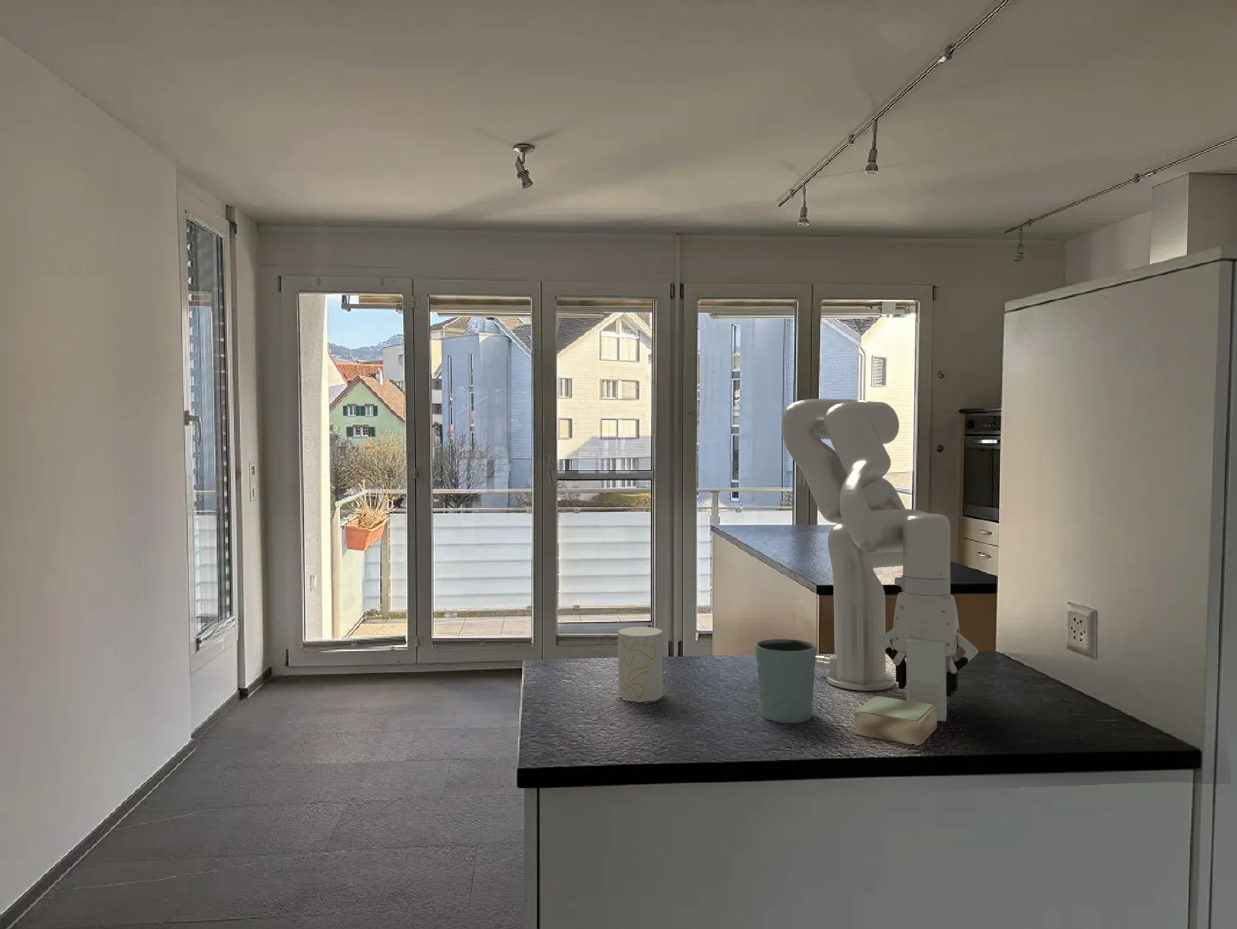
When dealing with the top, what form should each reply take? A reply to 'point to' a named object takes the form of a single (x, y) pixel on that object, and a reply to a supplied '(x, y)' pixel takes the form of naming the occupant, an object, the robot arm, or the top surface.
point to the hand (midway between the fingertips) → (926, 690)
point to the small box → (927, 674)
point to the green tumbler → (786, 679)
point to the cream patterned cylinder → (640, 663)
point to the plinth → (896, 720)
